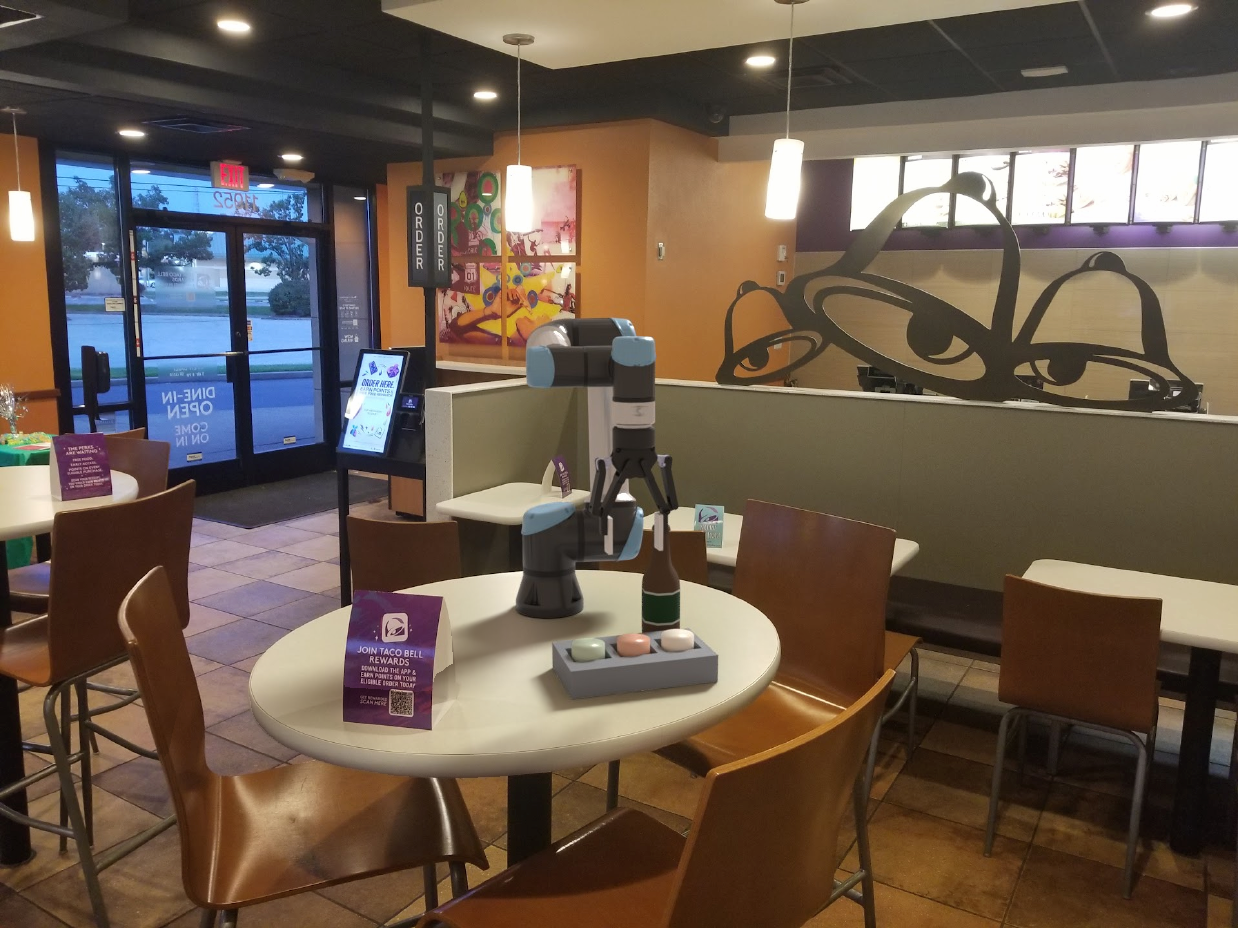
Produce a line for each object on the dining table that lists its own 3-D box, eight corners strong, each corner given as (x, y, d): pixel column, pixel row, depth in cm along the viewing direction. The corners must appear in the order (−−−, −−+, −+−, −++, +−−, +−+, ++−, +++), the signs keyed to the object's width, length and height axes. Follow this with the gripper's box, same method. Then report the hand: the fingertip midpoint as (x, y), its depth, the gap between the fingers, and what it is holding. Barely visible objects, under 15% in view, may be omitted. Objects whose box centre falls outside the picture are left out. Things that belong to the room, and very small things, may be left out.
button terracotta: (613, 657, 174) (613, 635, 173) (644, 654, 176) (644, 631, 175) (622, 669, 168) (622, 646, 168) (654, 666, 170) (654, 642, 169)
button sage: (568, 662, 172) (568, 639, 171) (600, 659, 173) (600, 636, 173) (576, 674, 166) (575, 651, 165) (608, 671, 168) (608, 647, 167)
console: (552, 667, 176) (552, 642, 175) (688, 652, 183) (688, 627, 182) (571, 699, 162) (570, 671, 161) (717, 681, 169) (718, 654, 168)
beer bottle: (677, 648, 185) (677, 529, 181) (638, 645, 187) (638, 527, 183) (682, 635, 193) (683, 520, 189) (645, 632, 194) (645, 519, 191)
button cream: (656, 653, 176) (656, 630, 176) (687, 649, 178) (687, 627, 177) (667, 664, 171) (667, 641, 170) (698, 661, 172) (698, 638, 172)
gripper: (579, 430, 158) (580, 560, 162) (698, 425, 164) (697, 551, 168) (569, 425, 165) (570, 550, 169) (683, 420, 171) (682, 541, 175)
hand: (633, 550), depth 169 cm, fingers open, 9 cm apart
